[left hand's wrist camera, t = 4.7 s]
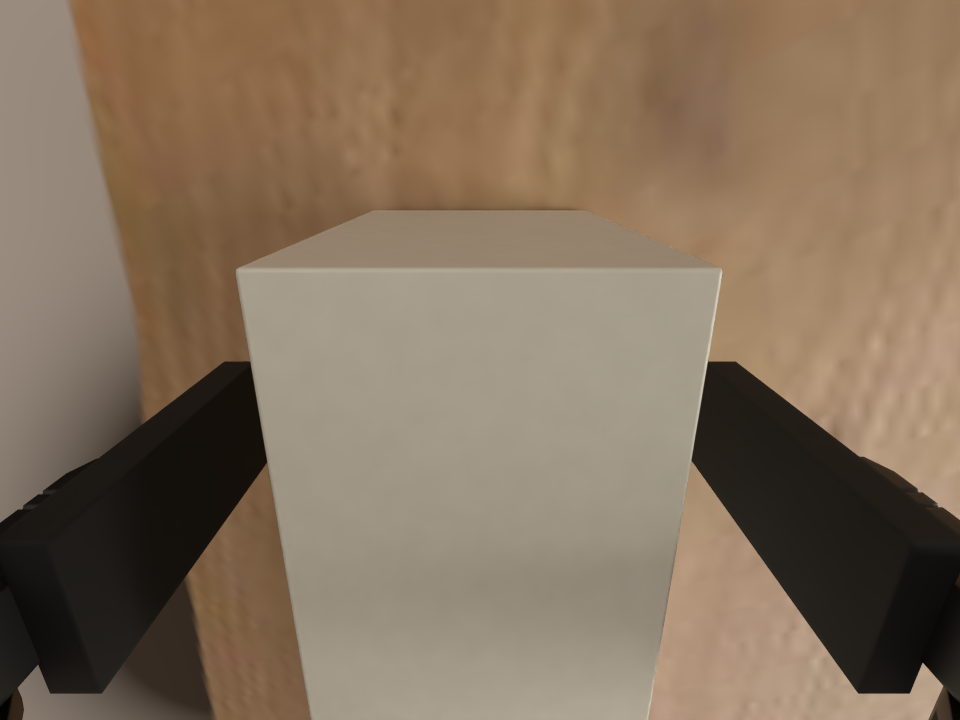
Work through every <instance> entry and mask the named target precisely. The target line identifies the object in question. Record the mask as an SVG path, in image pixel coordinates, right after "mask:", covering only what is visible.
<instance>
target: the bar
mask: <svg viewBox="0 0 960 720" xmlns="http://www.w3.org/2000/svg"><path fill="white" fill-rule="evenodd" d="M236 279H237V285H238V290H239V296H240V302H241V308H242V314H243V320H244V326H245V332H246V338H247V344H248V350H249V356H250V362H251V368H252V374H253V379H254V385H255V391H256V397H257V403H258V409H259V415H260V421H261V427H262V433H263V439H264V445H265V451H266V457H267V463H268V469H269V474H270V480H271V486H272V492H273V498H274V504H275V510H276V516H277V522H278V528H279V534H280V540H281V546H282V552H283V558H284V564H285V569H286V575H287V581H288V587H289V593H290V599H291V605H292V611H293V617H294V623H295V629H296V635H297V641H298V647H299V653H300V659H301V664H302V670H303V676H304V682H305V688H306V694H307V700H308V706H309V712H310V718H311V720H648V716H649V710H650V704H651V698H652V692H653V686H654V680H655V674H656V668H657V662H658V656H659V650H660V644H661V638H662V632H663V626H664V620H665V614H666V608H667V602H668V596H669V590H670V584H671V578H672V572H673V566H674V560H675V554H676V548H677V542H678V536H679V530H680V524H681V518H682V512H683V506H684V501H685V495H686V489H687V483H688V477H689V471H690V465H691V459H692V453H693V447H694V441H695V435H696V429H697V423H698V417H699V411H700V405H701V399H702V393H703V387H704V381H705V375H706V369H707V363H708V357H709V351H710V345H711V339H712V333H713V327H714V321H715V315H716V309H717V303H718V297H719V291H720V285H721V279H722V269H721V268H719V267H716V266H714V265H712V264H710V263H707V262H705V261H703V260H700V259H698V258H696V257H693V256H691V255H689V254H686V253H684V252H682V251H679V250H677V249H675V248H672V247H670V246H668V245H665V244H663V243H661V242H658V241H656V240H654V239H652V238H649V237H647V236H645V235H642V234H640V233H638V232H635V231H633V230H631V229H628V228H626V227H624V226H621V225H619V224H617V223H614V222H612V221H610V220H607V219H605V218H603V217H600V216H598V215H596V214H594V213H591V212H589V211H587V210H373V211H371V212H368V213H366V214H364V215H361V216H359V217H357V218H354V219H352V220H350V221H347V222H345V223H343V224H340V225H338V226H335V227H333V228H331V229H328V230H326V231H324V232H321V233H319V234H317V235H314V236H312V237H310V238H307V239H305V240H303V241H300V242H298V243H295V244H293V245H291V246H288V247H286V248H284V249H281V250H279V251H277V252H274V253H272V254H270V255H267V256H265V257H263V258H260V259H258V260H256V261H253V262H251V263H248V264H246V265H244V266H241V267H239V268H237V269H236Z"/></svg>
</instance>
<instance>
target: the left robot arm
mask: <svg viewBox="0 0 960 720" xmlns="http://www.w3.org/2000/svg"><path fill="white" fill-rule="evenodd" d="M691 460H692V462H693V463H694V465H695V466H696V467H697V469H698V470H699V472H700V473H701V474H702V476H703V477H704V479H705V480H706V481H707V483H708V484H709V486H710V487H711V488H712V490H713V491H714V493H715V494H716V495H717V497H718V498H719V500H720V501H721V502H722V504H723V505H724V507H725V508H726V509H727V511H728V512H729V514H730V515H731V516H732V518H733V519H734V521H735V522H736V523H737V525H738V526H739V528H740V529H741V530H742V532H743V533H744V535H745V536H746V537H747V539H748V540H749V542H750V543H751V544H752V546H753V547H754V548H755V550H756V551H757V553H758V554H759V555H760V557H761V558H762V560H763V561H764V562H765V564H766V565H767V567H768V568H769V569H770V571H771V572H772V574H773V575H774V576H775V578H776V579H777V581H778V582H779V583H780V585H781V586H782V588H783V589H784V590H785V592H786V593H787V595H788V596H789V597H790V599H791V600H792V602H793V603H794V604H795V606H796V607H797V609H798V610H799V611H800V613H801V614H802V616H803V617H804V618H805V620H806V621H807V623H808V624H809V625H810V627H811V628H812V630H813V631H814V632H815V634H816V635H817V637H818V638H819V639H820V641H821V642H822V643H823V645H824V646H825V648H826V649H827V650H828V652H829V653H830V655H831V656H832V657H833V659H834V660H835V662H836V663H837V664H838V666H839V667H840V669H841V670H842V671H843V673H844V674H845V676H846V677H847V678H848V680H849V681H850V683H851V684H852V685H853V687H854V688H855V690H856V691H857V692H858V693H910V692H911V689H912V687H913V684H914V682H915V680H916V677H917V675H918V672H919V670H920V668H921V665H922V663H924V664H925V665H926V667H927V668H928V669H929V670H930V671H931V672H932V673H933V674H934V676H935V677H936V678H937V679H938V680H939V681H940V682H941V683H942V685H943V688H942V691H941V693H940V695H939V697H938V700H937V702H936V704H935V706H934V709H933V711H932V713H931V715H930V718H929V720H960V520H959V519H958V518H956V517H955V516H954V515H952V514H951V513H950V512H948V511H947V510H945V509H944V508H943V507H938V505H937V503H936V502H935V501H933V500H932V499H931V498H929V497H928V496H927V495H925V494H924V493H922V492H918V489H917V488H916V487H914V486H913V485H912V484H910V483H909V482H908V481H906V480H905V479H904V478H902V477H901V476H900V475H898V474H897V473H895V472H894V471H892V470H890V469H888V468H886V467H884V466H882V465H880V464H878V463H875V462H873V461H871V460H869V459H867V458H865V457H859V456H858V455H856V454H855V453H854V452H852V451H851V450H850V449H849V448H847V447H846V446H845V445H843V444H842V443H841V442H839V441H838V440H837V439H836V438H834V437H833V436H832V435H830V434H829V433H828V432H826V431H825V430H824V429H823V428H821V427H820V426H819V425H817V424H816V423H815V422H813V421H812V420H811V419H810V418H808V417H807V416H806V415H804V414H803V413H802V412H800V411H799V410H798V409H797V408H795V407H794V406H793V405H791V404H790V403H789V402H787V401H786V400H785V399H784V398H782V397H781V396H780V395H778V394H777V393H776V392H774V391H773V390H772V389H771V388H769V387H768V386H767V385H765V384H764V383H763V382H761V381H760V380H759V379H758V378H756V377H755V376H754V375H752V374H751V373H750V372H748V371H747V370H746V369H745V368H743V367H742V366H741V365H739V364H738V363H737V362H708V363H707V369H706V375H705V381H704V387H703V393H702V399H701V405H700V411H699V417H698V423H697V429H696V435H695V441H694V447H693V453H692V459H691ZM266 463H267V457H266V451H265V445H264V439H263V433H262V427H261V421H260V415H259V409H258V403H257V397H256V391H255V385H254V379H253V374H252V368H251V362H223V363H222V364H221V365H219V366H218V367H217V368H215V369H214V370H213V371H212V372H210V373H209V374H208V375H206V376H205V377H204V378H202V379H201V380H200V381H199V382H197V383H196V384H195V385H193V386H192V387H191V388H189V389H188V390H187V391H186V392H184V393H183V394H182V395H180V396H179V397H178V398H176V399H175V400H174V401H173V402H171V403H170V404H169V405H167V406H166V407H165V408H163V409H162V410H161V411H160V412H158V413H157V414H156V415H154V416H153V417H152V418H150V419H149V420H148V421H147V422H145V423H144V424H143V425H141V426H140V427H139V428H137V429H136V430H135V431H134V432H132V433H131V434H130V435H129V436H127V437H126V438H125V439H123V440H122V441H121V442H119V443H118V444H117V445H115V446H114V447H113V448H112V449H110V450H109V451H108V452H106V453H105V454H104V455H102V456H101V457H100V458H99V459H95V460H93V461H91V462H89V463H87V464H85V465H83V466H81V467H79V468H77V469H75V470H73V471H70V472H68V473H66V474H65V475H64V476H62V477H61V478H60V479H58V480H57V481H56V482H54V483H53V484H52V485H50V486H49V487H48V488H46V489H45V490H44V491H43V494H38V495H37V496H36V497H34V498H33V499H32V500H30V501H29V502H28V503H26V504H25V505H24V506H23V509H22V510H17V511H15V512H14V513H13V514H12V515H10V516H9V517H8V518H6V519H5V520H3V521H2V522H1V523H0V720H22V718H23V712H24V708H23V702H22V697H21V695H20V693H19V691H18V687H19V685H20V684H21V683H22V682H23V681H24V680H25V679H26V678H27V676H28V675H29V674H30V673H31V672H32V671H33V670H34V668H35V667H36V666H37V665H39V668H40V670H41V672H42V675H43V677H44V680H45V682H46V684H47V687H48V689H49V692H50V693H102V692H103V691H104V690H105V688H106V687H107V685H108V684H109V683H110V681H111V680H112V678H113V677H114V676H115V674H116V673H117V671H118V670H119V669H120V667H121V666H122V664H123V663H124V662H125V660H126V659H127V657H128V656H129V655H130V653H131V652H132V650H133V649H134V648H135V646H136V645H137V644H138V642H139V641H140V639H141V638H142V637H143V635H144V634H145V632H146V631H147V630H148V628H149V627H150V625H151V624H152V622H153V621H154V620H155V618H156V617H157V616H158V614H159V613H160V611H161V610H162V609H163V607H164V606H165V604H166V603H167V602H168V600H169V599H170V597H171V596H172V595H173V593H174V592H175V590H176V589H177V588H178V586H179V585H180V583H181V582H182V581H183V579H184V578H185V576H186V575H187V574H188V572H189V571H190V569H191V568H192V567H193V565H194V564H195V562H196V561H197V560H198V558H199V557H200V555H201V554H202V553H203V551H204V550H205V549H206V547H207V546H208V544H209V543H210V542H211V540H212V539H213V537H214V536H215V535H216V533H217V532H218V530H219V529H220V528H221V526H222V525H223V523H224V522H225V521H226V519H227V518H228V516H229V515H230V514H231V512H232V511H233V509H234V508H235V507H236V505H237V504H238V502H239V501H240V500H241V498H242V497H243V495H244V494H245V493H246V491H247V490H248V488H249V487H250V486H251V484H252V483H253V481H254V480H255V479H256V477H257V476H258V474H259V473H260V472H261V470H262V469H263V467H264V466H265V465H266Z"/></svg>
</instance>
